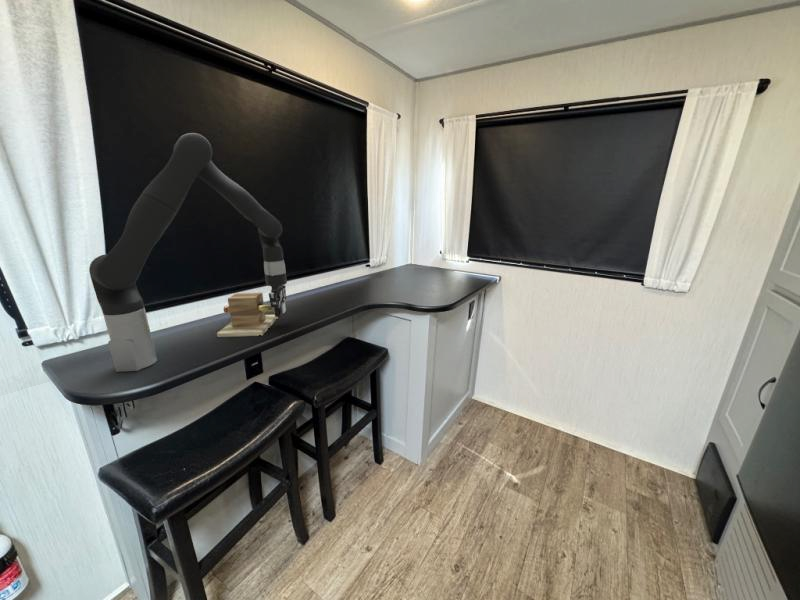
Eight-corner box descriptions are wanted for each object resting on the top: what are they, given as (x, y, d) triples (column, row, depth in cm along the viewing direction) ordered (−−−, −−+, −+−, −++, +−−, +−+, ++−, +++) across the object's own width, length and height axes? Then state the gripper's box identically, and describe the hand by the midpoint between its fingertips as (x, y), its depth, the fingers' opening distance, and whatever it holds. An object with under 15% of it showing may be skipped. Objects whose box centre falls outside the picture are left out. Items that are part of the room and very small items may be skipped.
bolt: (283, 313, 124) (282, 304, 123) (223, 315, 123) (222, 306, 122) (285, 310, 128) (284, 302, 127) (227, 312, 126) (226, 303, 125)
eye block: (262, 335, 118) (257, 301, 114) (217, 337, 117) (211, 303, 113) (277, 317, 137) (274, 288, 133) (239, 319, 136) (235, 289, 132)
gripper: (271, 269, 128) (276, 308, 133) (258, 276, 114) (264, 320, 119) (290, 268, 129) (294, 308, 133) (280, 275, 115) (285, 319, 120)
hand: (280, 313), depth 126 cm, fingers open, 5 cm apart
